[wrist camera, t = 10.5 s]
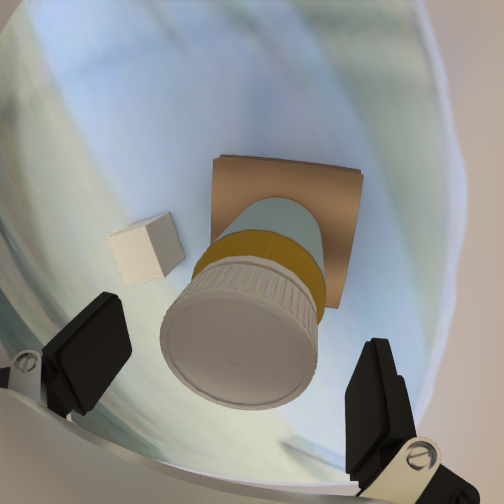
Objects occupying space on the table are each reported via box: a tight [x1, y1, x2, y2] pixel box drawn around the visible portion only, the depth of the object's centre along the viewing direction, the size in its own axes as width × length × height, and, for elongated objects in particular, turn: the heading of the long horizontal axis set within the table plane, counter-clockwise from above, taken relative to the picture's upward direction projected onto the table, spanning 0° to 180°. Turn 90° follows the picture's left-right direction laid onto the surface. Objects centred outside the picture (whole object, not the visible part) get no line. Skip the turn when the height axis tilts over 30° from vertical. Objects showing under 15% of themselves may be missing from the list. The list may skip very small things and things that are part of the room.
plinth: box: [211, 155, 363, 309], centre depth 25 cm, size 12×12×3 cm
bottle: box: [160, 196, 326, 410], centre depth 17 cm, size 7×7×15 cm
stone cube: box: [106, 212, 185, 285], centre depth 28 cm, size 5×5×5 cm
